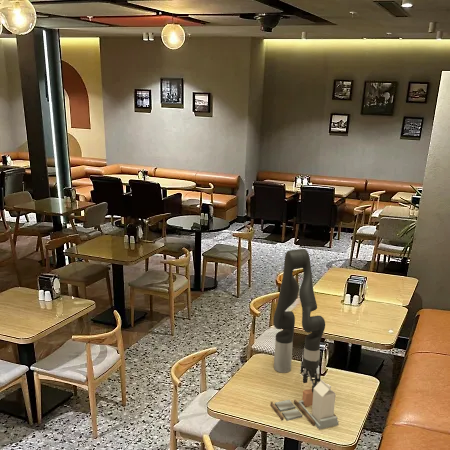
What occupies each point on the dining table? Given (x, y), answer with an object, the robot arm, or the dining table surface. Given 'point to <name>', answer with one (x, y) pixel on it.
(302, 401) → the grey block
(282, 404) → the board
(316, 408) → the milk carton
